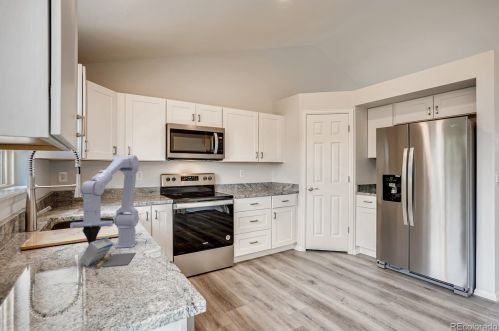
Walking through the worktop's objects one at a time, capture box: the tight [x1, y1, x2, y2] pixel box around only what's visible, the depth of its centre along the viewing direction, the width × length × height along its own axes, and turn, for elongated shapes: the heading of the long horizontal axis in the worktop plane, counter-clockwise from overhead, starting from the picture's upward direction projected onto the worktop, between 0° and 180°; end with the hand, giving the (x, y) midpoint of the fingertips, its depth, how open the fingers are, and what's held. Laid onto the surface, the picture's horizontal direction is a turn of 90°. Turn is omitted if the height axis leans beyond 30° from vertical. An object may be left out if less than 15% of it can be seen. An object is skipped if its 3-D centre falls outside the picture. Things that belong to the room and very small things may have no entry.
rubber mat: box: [101, 252, 137, 268], centre depth 102 cm, size 14×9×1 cm, turn 13°
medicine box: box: [79, 236, 114, 267], centre depth 98 cm, size 8×4×9 cm
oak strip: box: [96, 252, 112, 270], centre depth 100 cm, size 14×1×1 cm, turn 13°
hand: (91, 245), depth 99 cm, fingers closed
